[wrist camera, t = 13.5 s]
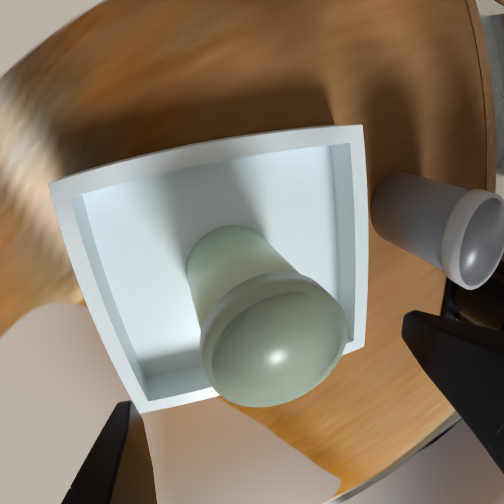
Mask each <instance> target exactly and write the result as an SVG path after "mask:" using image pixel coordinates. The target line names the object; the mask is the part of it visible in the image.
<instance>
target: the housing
mask: <svg viewBox="0 0 504 504" xmlns="http://www.w3.org/2000/svg"><path fill="white" fill-rule="evenodd" d="M466 1H467V5H468V9H469V13H470V17H471V21H472V25H473V30H474V34H475V39H476V44H477V50H478V55H479V61H480V68H481V75H482V82H483V91H484V101H485V113H486V131H487V186H486V191H489V192H492V193H496V194H498V195H500V196H501V197H502V198H503V200H504V6H502V5H501V4H499V3H497V2H496V1H494V0H466Z"/></svg>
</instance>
